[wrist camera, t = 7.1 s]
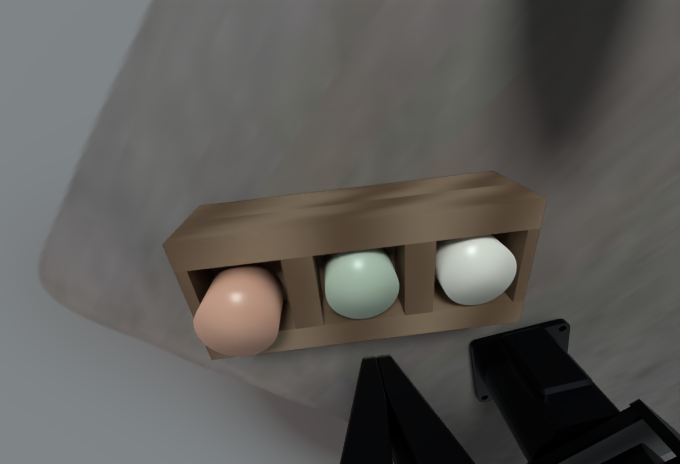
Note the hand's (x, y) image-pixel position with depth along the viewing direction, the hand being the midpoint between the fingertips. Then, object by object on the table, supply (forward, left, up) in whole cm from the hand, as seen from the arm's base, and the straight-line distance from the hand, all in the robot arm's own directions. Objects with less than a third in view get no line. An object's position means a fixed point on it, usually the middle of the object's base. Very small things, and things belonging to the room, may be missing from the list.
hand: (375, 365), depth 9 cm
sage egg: (0, 0, -6) cm, 6 cm away
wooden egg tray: (0, 0, -8) cm, 8 cm away
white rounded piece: (-1, -5, -6) cm, 8 cm away
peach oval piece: (0, +5, -5) cm, 7 cm away
